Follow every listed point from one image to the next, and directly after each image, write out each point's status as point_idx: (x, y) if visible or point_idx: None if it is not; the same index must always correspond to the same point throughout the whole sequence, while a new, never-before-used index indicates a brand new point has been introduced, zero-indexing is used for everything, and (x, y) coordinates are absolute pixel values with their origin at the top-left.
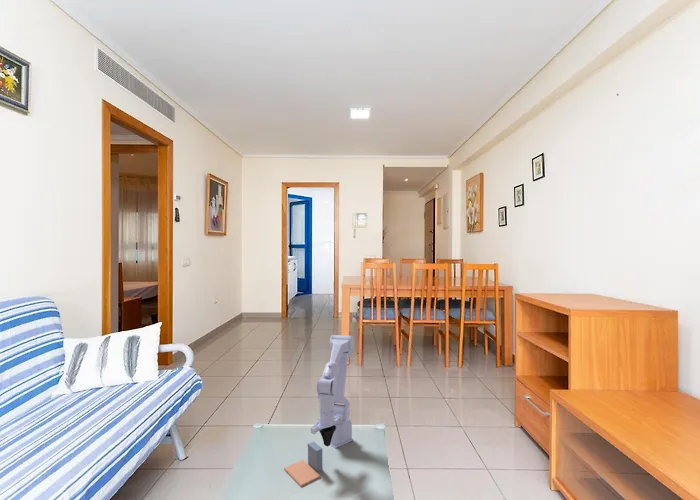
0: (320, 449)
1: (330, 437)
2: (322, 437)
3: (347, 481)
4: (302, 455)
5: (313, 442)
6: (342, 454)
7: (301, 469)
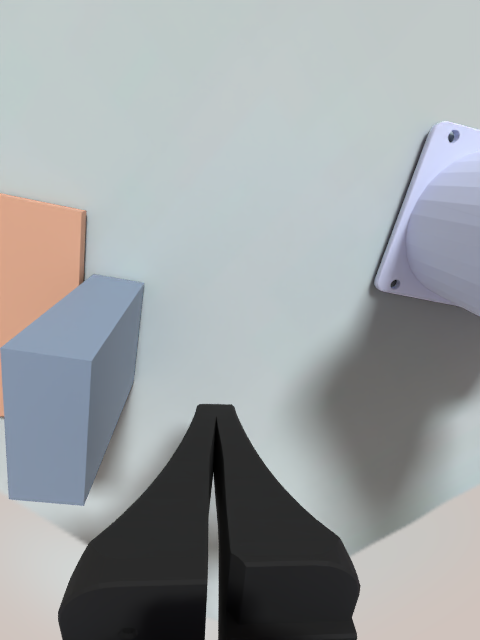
0: (61, 501)
1: (219, 543)
2: (174, 457)
3: None
4: (138, 134)
5: (77, 375)
6: (341, 362)
7: (4, 297)
